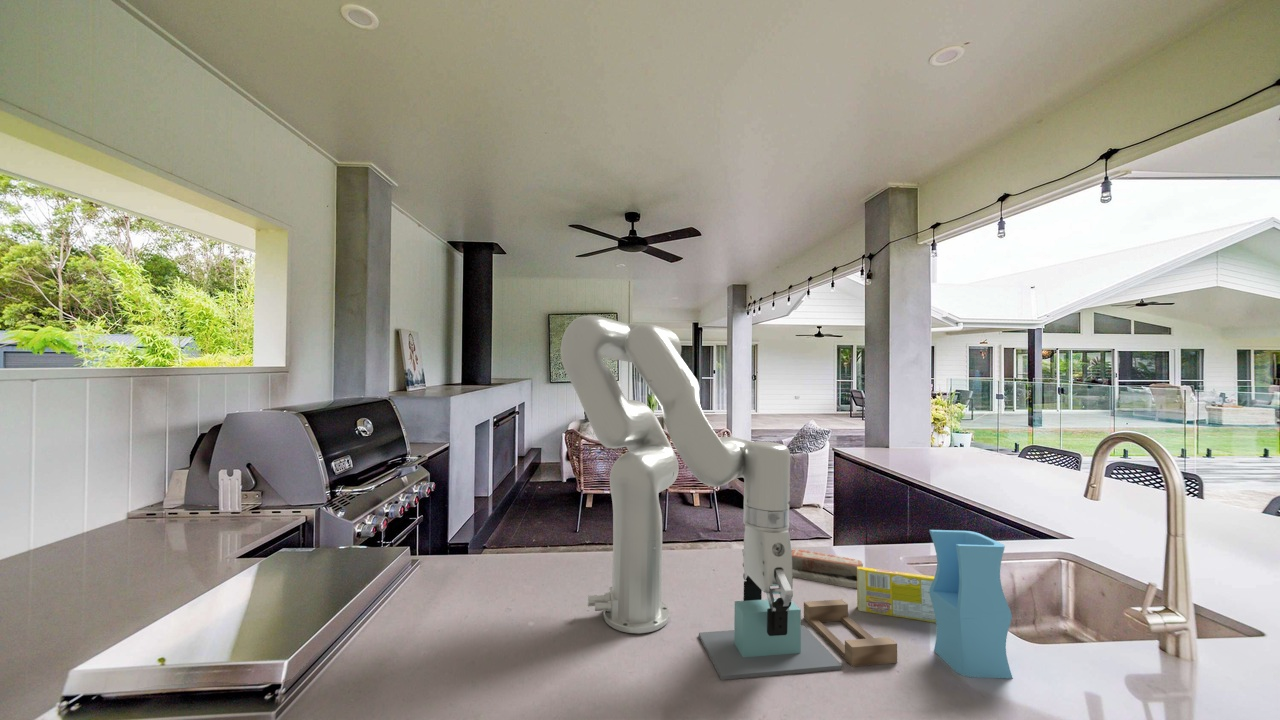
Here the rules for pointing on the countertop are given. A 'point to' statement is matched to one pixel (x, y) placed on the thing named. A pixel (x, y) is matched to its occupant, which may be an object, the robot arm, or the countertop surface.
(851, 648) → the frame
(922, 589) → the candy box
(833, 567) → the packaged product
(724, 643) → the mat
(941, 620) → the vase
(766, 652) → the block
